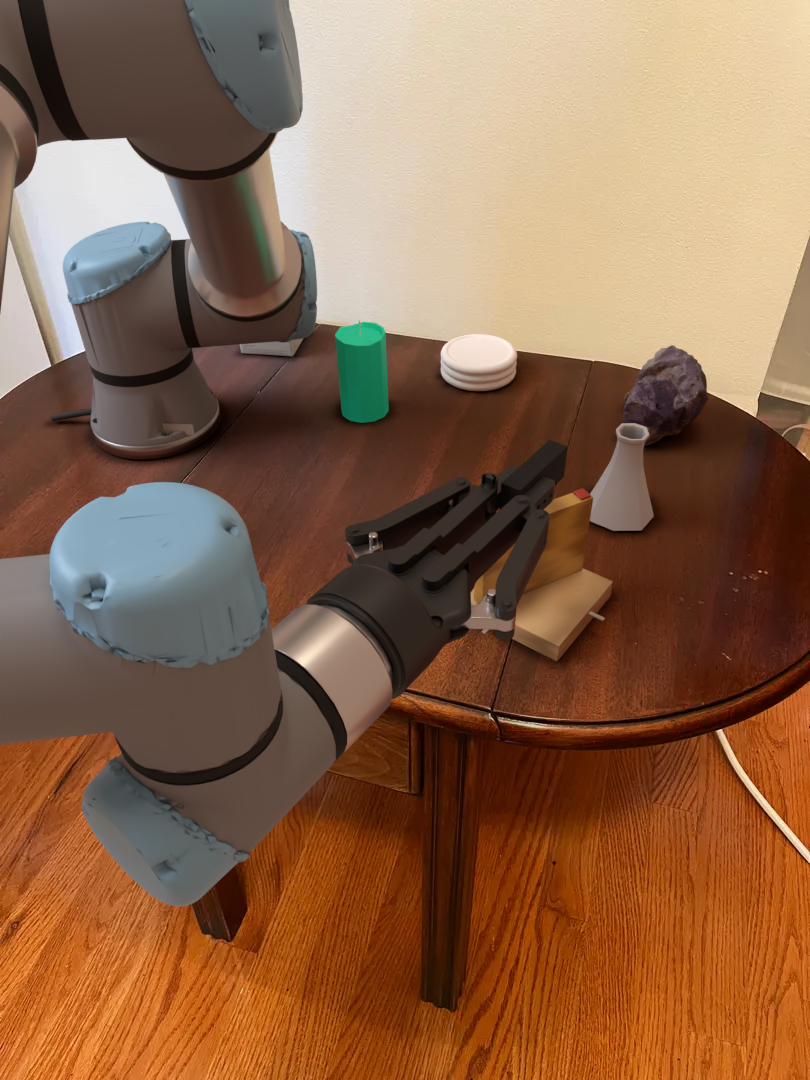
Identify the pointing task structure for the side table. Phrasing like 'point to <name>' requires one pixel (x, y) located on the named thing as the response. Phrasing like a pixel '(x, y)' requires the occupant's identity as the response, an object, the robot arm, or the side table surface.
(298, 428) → the side table surface
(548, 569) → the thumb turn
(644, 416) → the rock
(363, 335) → the candle
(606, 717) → the side table surface
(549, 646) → the plate
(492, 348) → the coaster
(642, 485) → the flask
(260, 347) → the small box
